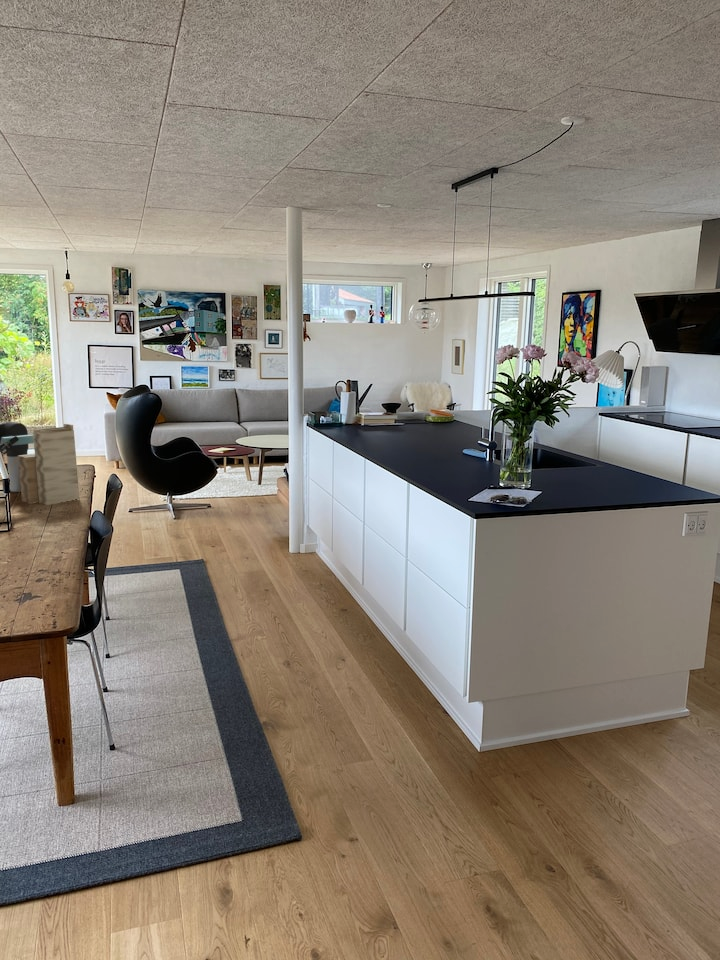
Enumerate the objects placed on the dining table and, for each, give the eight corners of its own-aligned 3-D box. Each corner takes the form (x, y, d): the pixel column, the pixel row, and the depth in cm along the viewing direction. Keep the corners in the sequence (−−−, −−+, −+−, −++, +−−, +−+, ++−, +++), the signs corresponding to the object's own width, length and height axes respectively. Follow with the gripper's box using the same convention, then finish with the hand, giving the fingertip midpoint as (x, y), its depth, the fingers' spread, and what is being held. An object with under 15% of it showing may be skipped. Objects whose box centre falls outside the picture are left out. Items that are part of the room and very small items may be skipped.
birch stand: (39, 502, 332) (32, 426, 325) (70, 496, 343) (64, 423, 336) (47, 505, 327) (40, 428, 320) (79, 499, 338) (73, 425, 331)
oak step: (22, 500, 335) (17, 455, 331) (51, 495, 345) (47, 451, 341) (30, 503, 330) (25, 457, 326) (60, 498, 340) (56, 453, 336)
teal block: (1, 445, 323) (1, 437, 322) (50, 440, 339) (50, 432, 338) (5, 446, 321) (4, 438, 320) (54, 441, 337) (53, 433, 336)
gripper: (-17, 455, 309) (17, 431, 319) (-30, 451, 318) (3, 428, 328) (-6, 469, 313) (27, 445, 323) (-20, 465, 322) (13, 442, 332)
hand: (15, 437), depth 325 cm, fingers closed on teal block, 3 cm apart
